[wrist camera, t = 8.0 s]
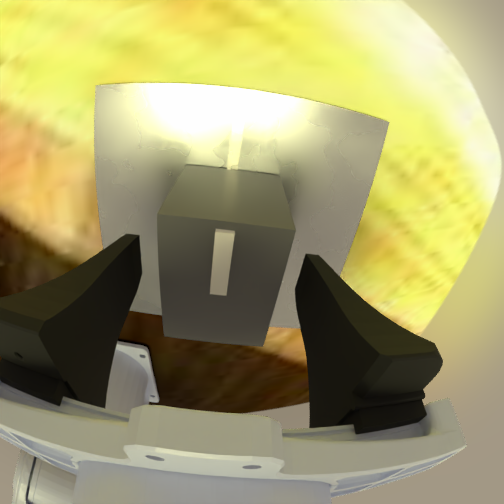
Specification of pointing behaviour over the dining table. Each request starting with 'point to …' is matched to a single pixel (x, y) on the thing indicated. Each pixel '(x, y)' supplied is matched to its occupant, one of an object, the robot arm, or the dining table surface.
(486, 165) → the dining table surface
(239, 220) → the striped grey block
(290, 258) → the grey flat square slab
